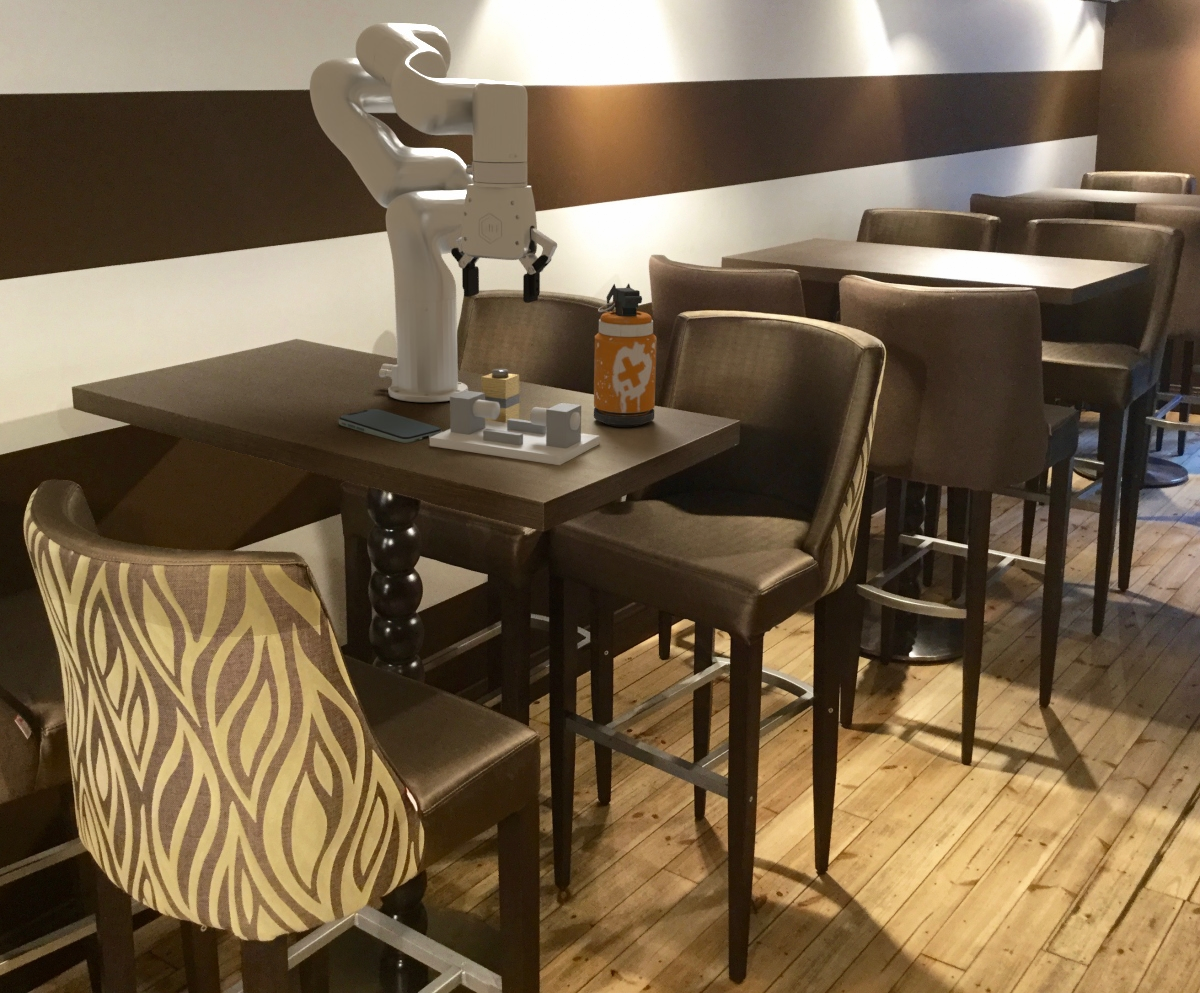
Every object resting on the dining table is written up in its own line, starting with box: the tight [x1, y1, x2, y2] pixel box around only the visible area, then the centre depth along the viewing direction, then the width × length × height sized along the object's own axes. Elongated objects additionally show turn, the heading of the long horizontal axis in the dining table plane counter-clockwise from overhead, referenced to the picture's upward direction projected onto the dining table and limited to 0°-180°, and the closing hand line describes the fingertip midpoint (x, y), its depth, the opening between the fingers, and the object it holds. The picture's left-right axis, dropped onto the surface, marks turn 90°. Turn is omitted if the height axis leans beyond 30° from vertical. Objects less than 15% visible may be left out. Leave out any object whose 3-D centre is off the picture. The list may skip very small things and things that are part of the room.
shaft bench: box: [429, 390, 601, 466], centre depth 175 cm, size 20×12×6 cm, turn 64°
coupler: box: [480, 368, 520, 423], centre depth 186 cm, size 4×4×8 cm
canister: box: [593, 283, 657, 428], centre depth 187 cm, size 9×11×20 cm
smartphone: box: [338, 408, 443, 444], centre depth 183 cm, size 8×2×15 cm
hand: (500, 298), depth 182 cm, fingers open, 9 cm apart
